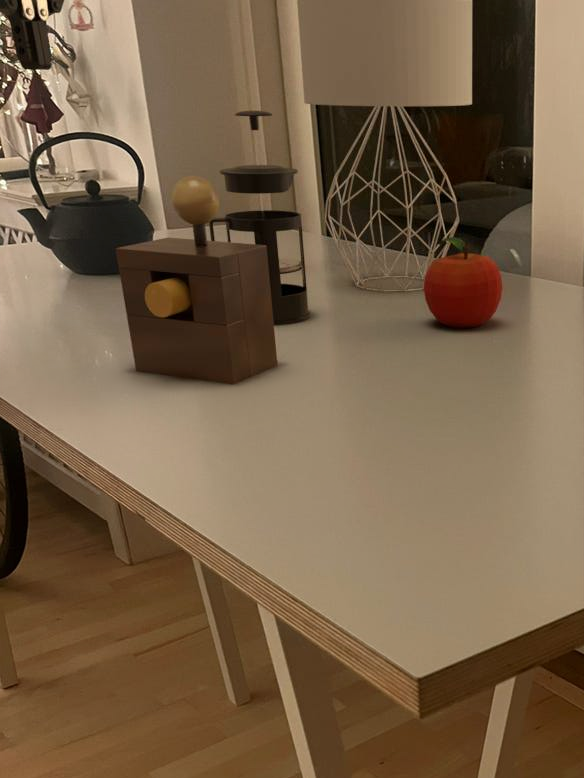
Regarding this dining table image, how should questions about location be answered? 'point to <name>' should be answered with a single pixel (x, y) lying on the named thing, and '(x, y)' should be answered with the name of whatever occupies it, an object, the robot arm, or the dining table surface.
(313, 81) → the table lamp
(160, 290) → the button
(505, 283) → the dining table surface
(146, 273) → the switch box
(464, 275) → the fruit
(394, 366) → the dining table surface
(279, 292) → the french press
